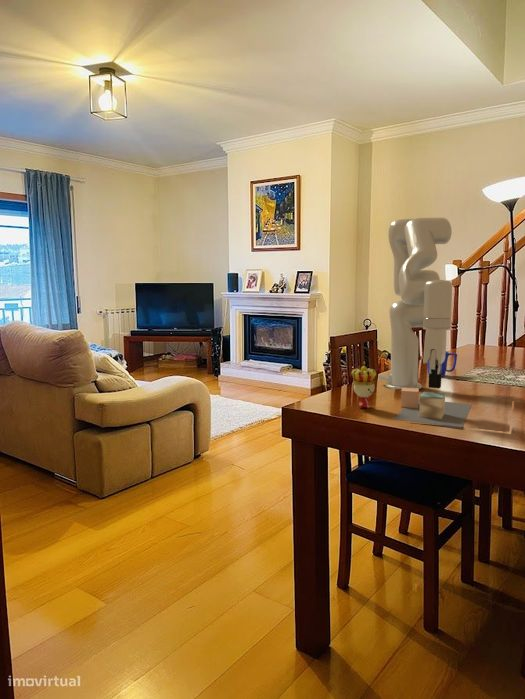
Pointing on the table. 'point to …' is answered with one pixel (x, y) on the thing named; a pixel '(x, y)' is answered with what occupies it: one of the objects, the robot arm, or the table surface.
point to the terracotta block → (409, 397)
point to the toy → (364, 385)
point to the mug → (444, 364)
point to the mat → (451, 418)
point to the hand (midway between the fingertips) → (434, 387)
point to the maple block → (432, 405)
